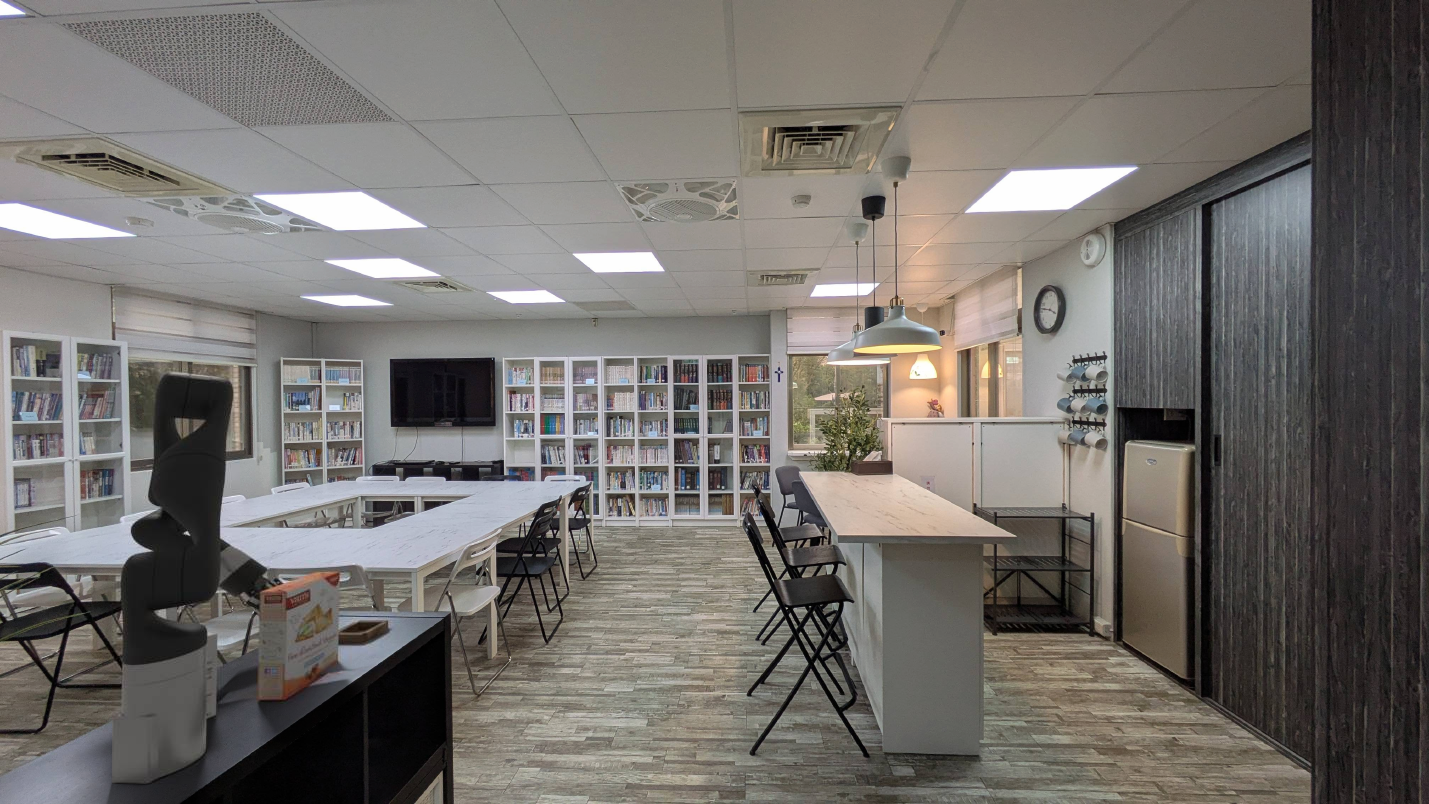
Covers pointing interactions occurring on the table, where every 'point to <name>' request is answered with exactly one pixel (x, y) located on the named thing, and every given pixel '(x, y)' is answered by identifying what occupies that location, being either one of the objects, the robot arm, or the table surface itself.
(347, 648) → the table surface
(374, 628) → the box
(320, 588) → the cracker box
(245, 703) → the table surface
